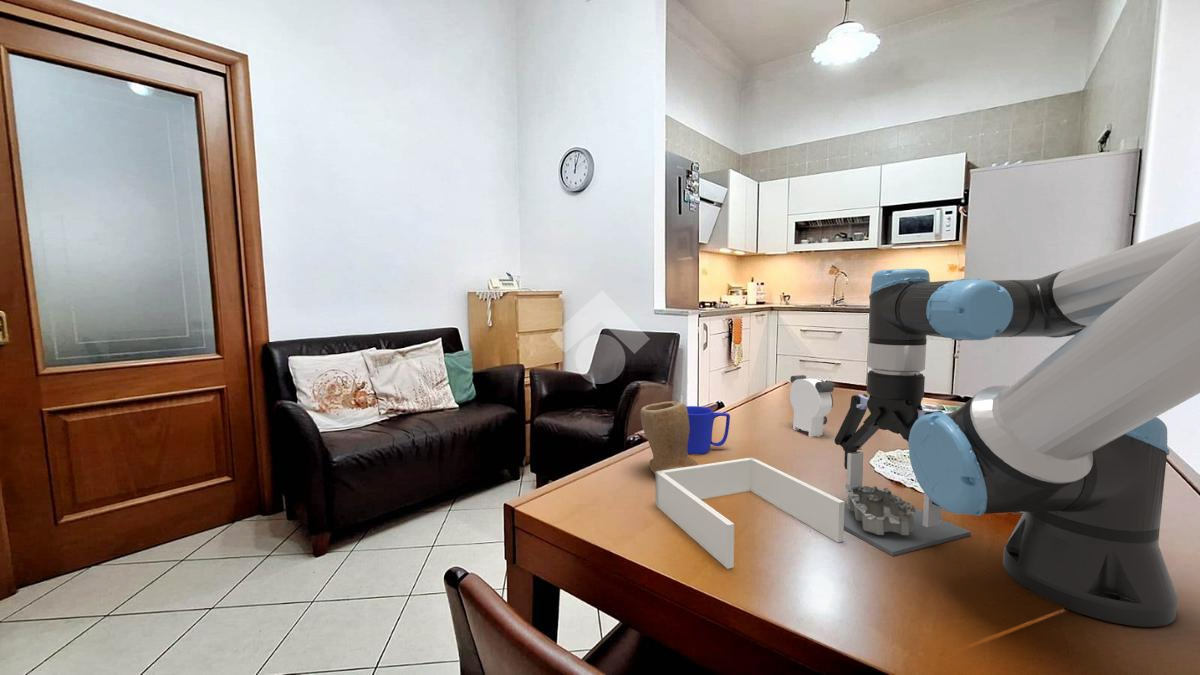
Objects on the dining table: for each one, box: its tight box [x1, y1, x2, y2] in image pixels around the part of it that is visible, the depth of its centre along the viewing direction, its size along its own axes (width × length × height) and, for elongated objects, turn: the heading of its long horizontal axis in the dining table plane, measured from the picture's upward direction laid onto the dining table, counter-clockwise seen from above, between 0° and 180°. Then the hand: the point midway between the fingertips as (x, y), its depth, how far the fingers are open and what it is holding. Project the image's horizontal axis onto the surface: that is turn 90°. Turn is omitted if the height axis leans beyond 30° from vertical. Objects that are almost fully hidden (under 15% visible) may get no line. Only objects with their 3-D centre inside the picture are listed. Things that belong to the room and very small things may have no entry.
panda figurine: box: [789, 374, 835, 438], centre depth 123 cm, size 12×11×15 cm
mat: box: [844, 503, 972, 557], centre depth 76 cm, size 14×16×1 cm
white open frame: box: [654, 456, 845, 570], centre depth 77 cm, size 21×20×6 cm
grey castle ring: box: [845, 483, 916, 535], centre depth 75 cm, size 11×8×4 cm
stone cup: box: [640, 401, 700, 476], centre depth 96 cm, size 15×12×15 cm
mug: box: [685, 405, 731, 455], centre depth 111 cm, size 8×12×10 cm
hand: (889, 506), depth 76 cm, fingers open, 13 cm apart
